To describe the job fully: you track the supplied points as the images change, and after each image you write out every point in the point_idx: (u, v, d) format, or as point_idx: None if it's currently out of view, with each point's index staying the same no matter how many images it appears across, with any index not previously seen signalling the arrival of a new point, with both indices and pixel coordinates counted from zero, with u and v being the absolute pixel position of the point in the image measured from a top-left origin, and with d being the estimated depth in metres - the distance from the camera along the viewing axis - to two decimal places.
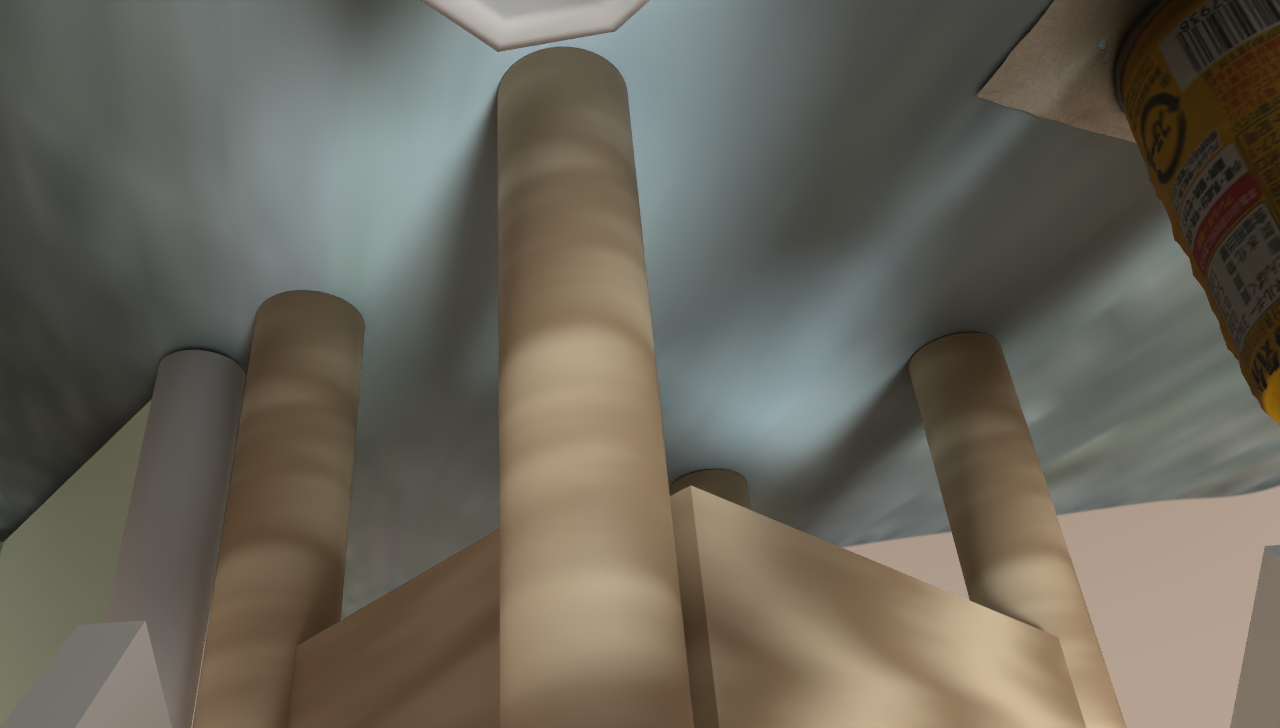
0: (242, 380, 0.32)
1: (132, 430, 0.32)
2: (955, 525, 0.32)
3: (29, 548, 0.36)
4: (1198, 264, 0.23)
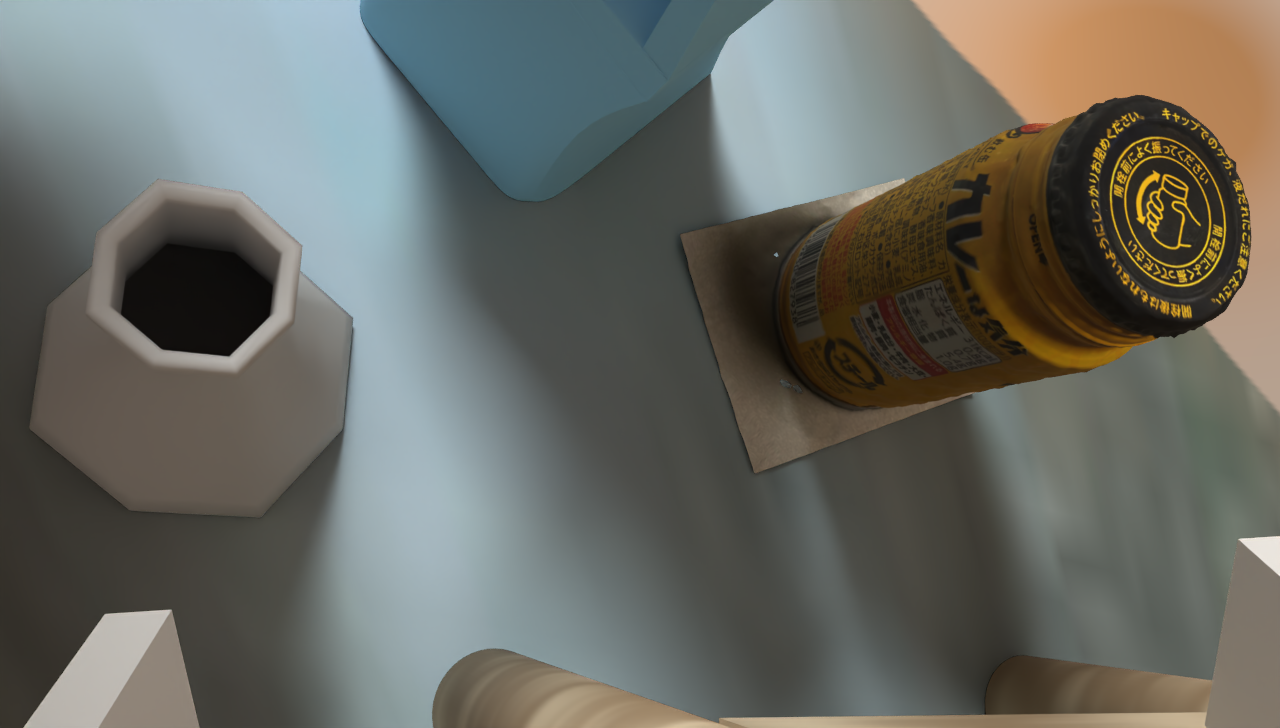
0: None
1: None
2: None
3: None
4: (939, 373, 0.27)
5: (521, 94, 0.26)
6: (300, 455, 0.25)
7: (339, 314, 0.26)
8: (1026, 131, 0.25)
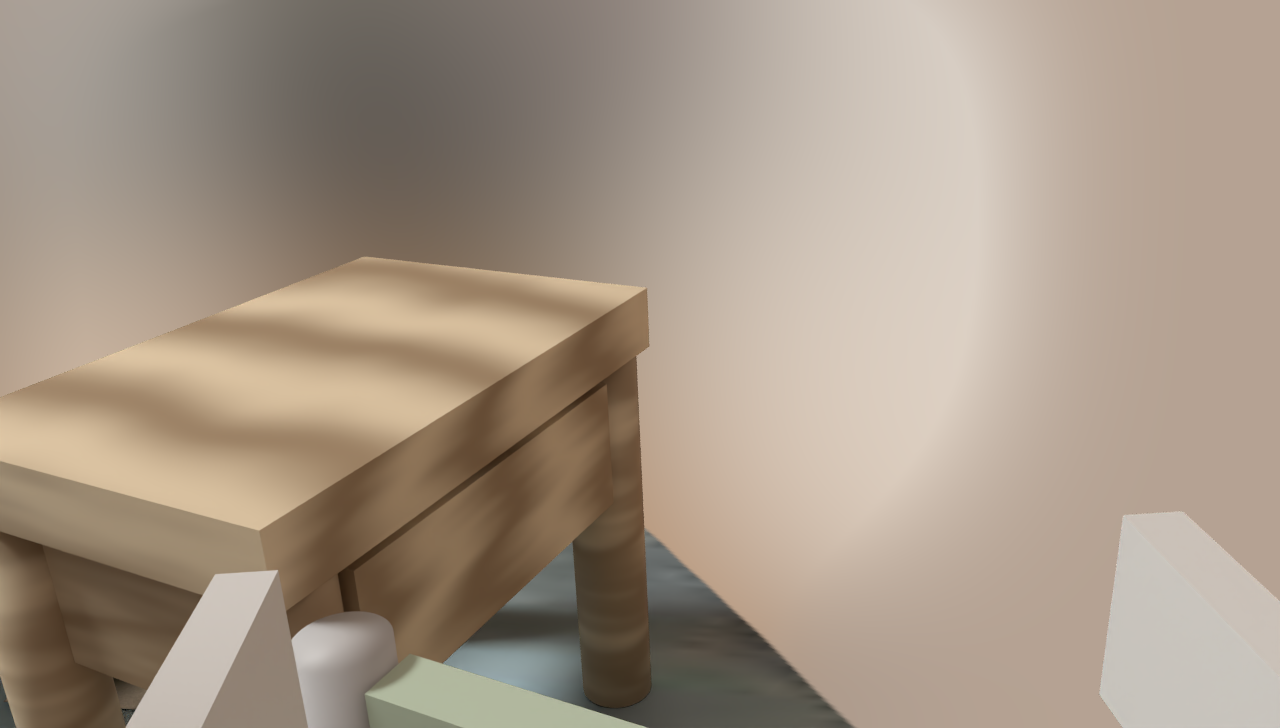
0: None
1: None
2: None
3: None
4: None
5: None
6: None
7: None
8: None
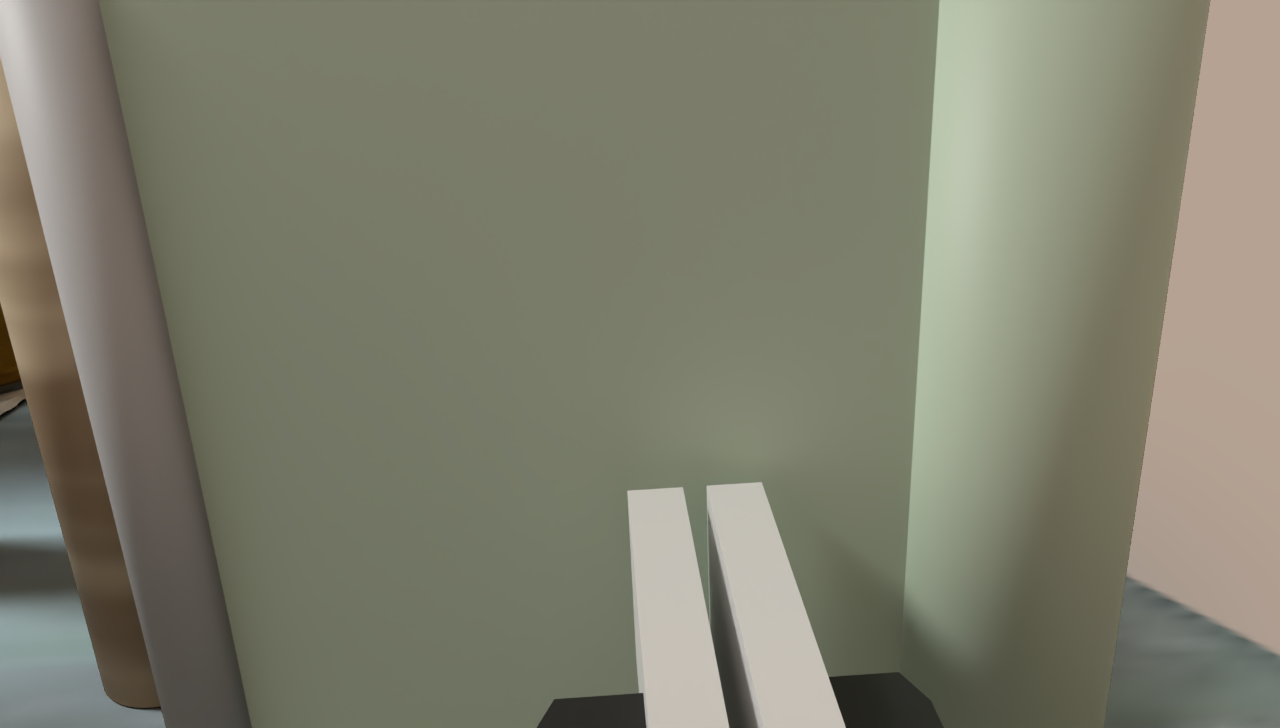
0: None
1: None
2: None
3: None
4: None
5: None
6: None
7: None
8: None
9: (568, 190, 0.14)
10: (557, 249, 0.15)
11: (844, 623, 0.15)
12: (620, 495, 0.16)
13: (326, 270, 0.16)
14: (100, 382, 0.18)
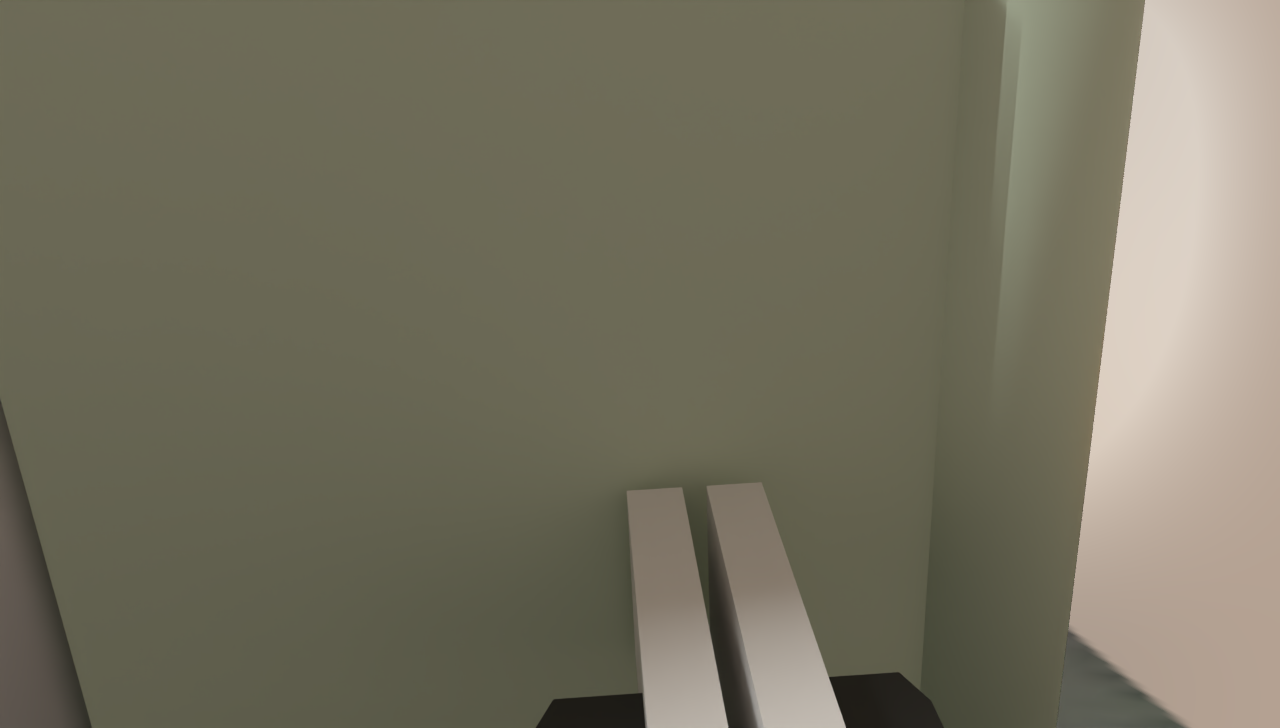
0: None
1: None
2: None
3: None
4: None
5: None
6: None
7: None
8: None
9: (609, 210, 0.13)
10: (596, 276, 0.14)
11: (879, 580, 0.16)
12: None
13: (290, 350, 0.13)
14: None
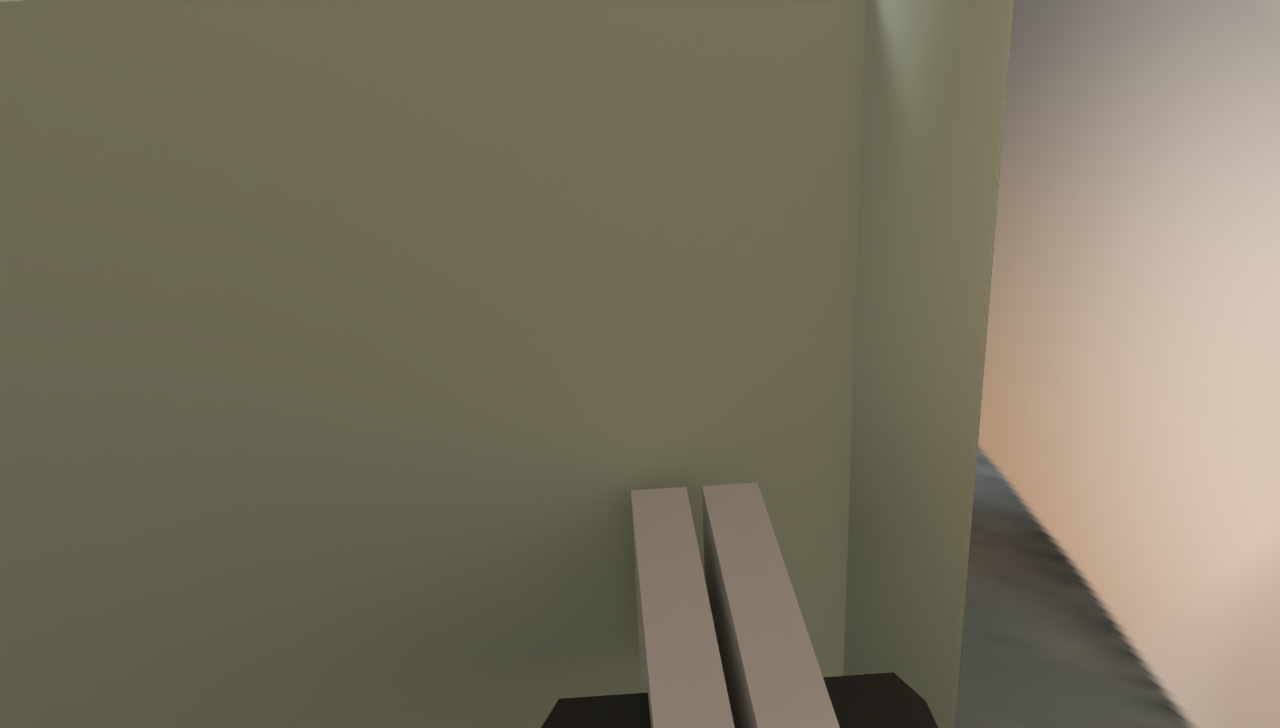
0: None
1: None
2: None
3: None
4: None
5: None
6: None
7: None
8: None
9: (551, 228, 0.13)
10: (539, 295, 0.13)
11: (806, 569, 0.17)
12: (609, 537, 0.15)
13: (221, 401, 0.12)
14: None
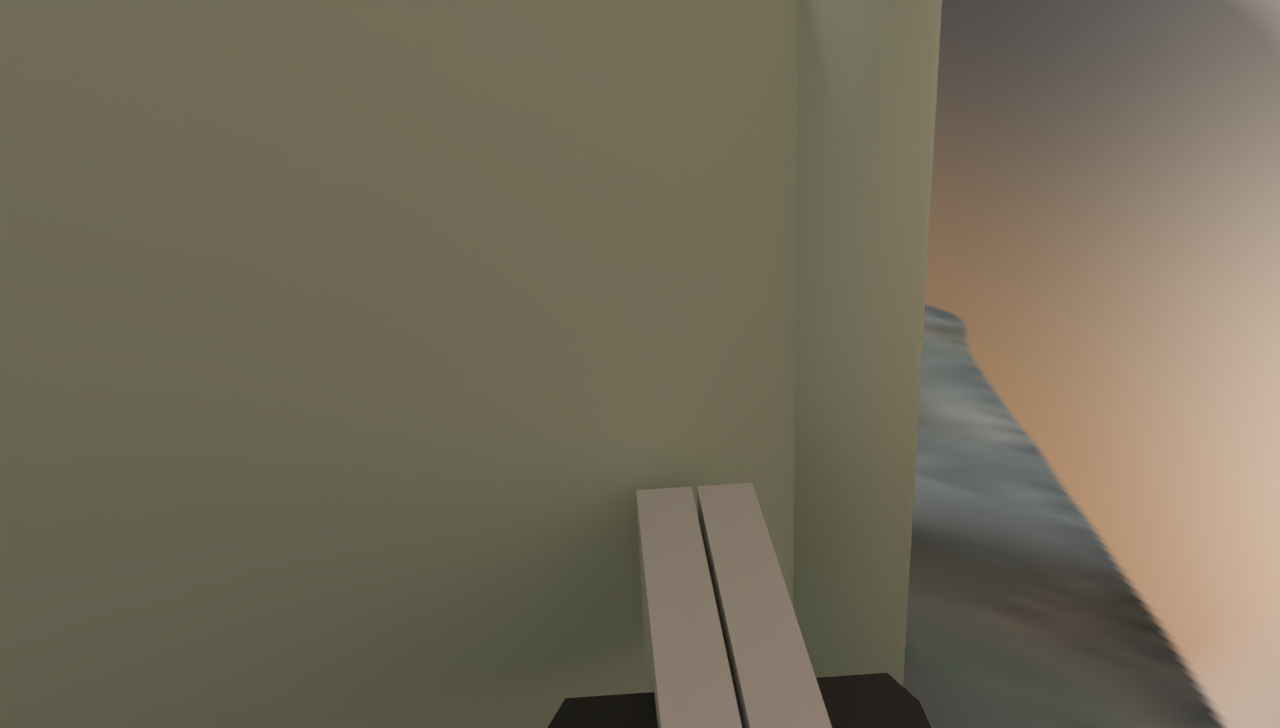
0: None
1: None
2: None
3: None
4: None
5: None
6: None
7: None
8: None
9: (489, 238, 0.12)
10: (479, 309, 0.13)
11: None
12: (556, 558, 0.14)
13: (142, 435, 0.11)
14: None
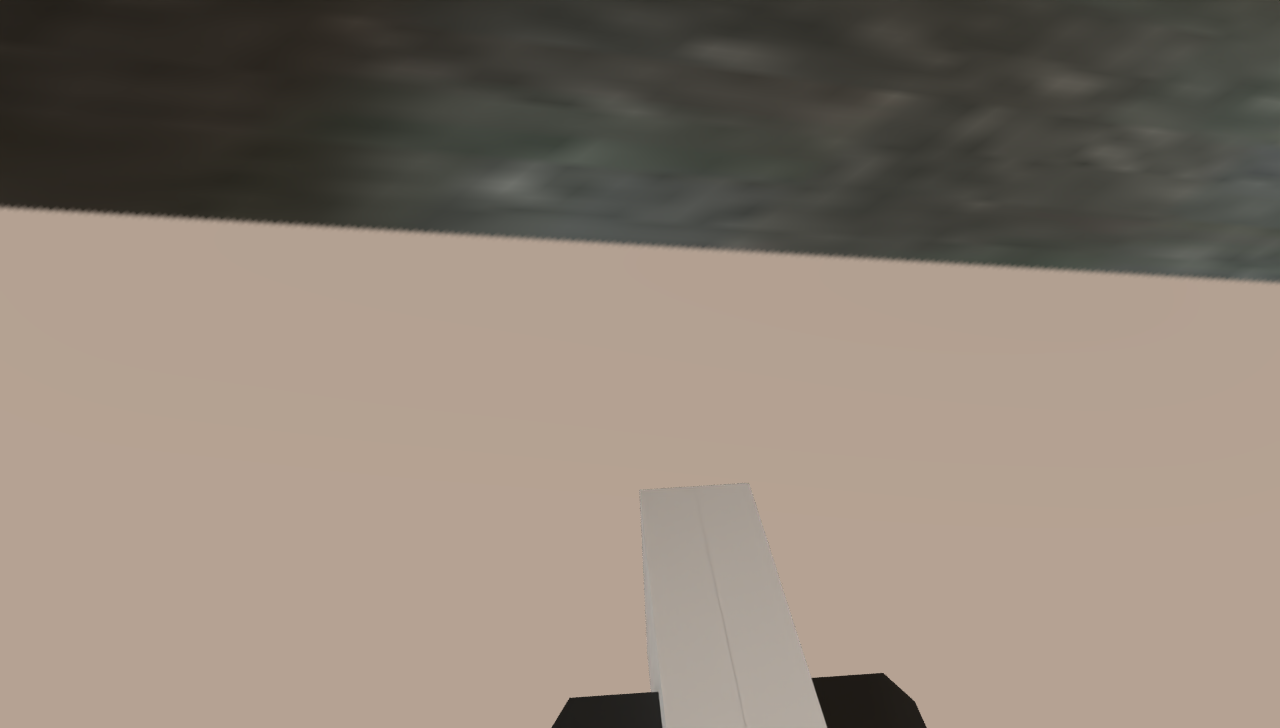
0: None
1: None
2: None
3: None
4: None
5: None
6: None
7: None
8: None
9: None
10: None
11: None
12: None
13: None
14: None
